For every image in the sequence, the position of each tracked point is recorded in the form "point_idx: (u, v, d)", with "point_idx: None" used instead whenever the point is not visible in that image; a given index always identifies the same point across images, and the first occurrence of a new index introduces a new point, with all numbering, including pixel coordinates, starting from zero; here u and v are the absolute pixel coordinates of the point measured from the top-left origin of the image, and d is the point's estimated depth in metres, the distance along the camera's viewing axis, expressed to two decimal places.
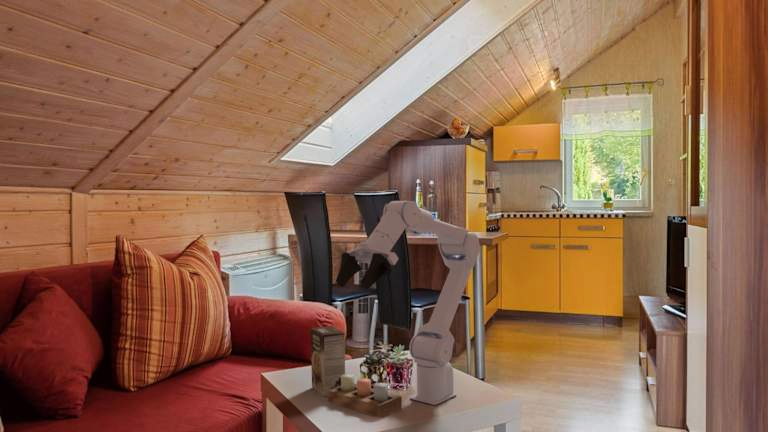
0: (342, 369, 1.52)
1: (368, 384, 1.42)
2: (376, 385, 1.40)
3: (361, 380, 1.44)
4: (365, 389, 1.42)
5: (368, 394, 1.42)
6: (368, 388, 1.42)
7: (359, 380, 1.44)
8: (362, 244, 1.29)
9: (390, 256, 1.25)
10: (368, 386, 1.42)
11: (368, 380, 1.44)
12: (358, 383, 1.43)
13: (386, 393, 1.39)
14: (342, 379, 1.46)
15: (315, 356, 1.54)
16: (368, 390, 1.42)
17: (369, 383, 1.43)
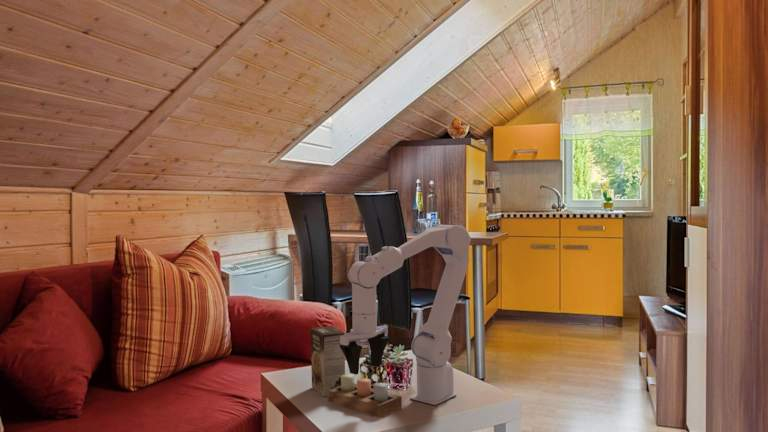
0: (342, 369, 1.52)
1: (368, 384, 1.42)
2: (376, 385, 1.40)
3: (361, 380, 1.44)
4: (365, 389, 1.42)
5: (368, 394, 1.42)
6: (368, 388, 1.42)
7: (359, 380, 1.44)
8: None
9: None
10: (368, 386, 1.42)
11: (368, 380, 1.44)
12: (358, 383, 1.43)
13: (386, 393, 1.39)
14: (342, 379, 1.46)
15: (315, 356, 1.54)
16: (368, 390, 1.42)
17: (369, 383, 1.43)
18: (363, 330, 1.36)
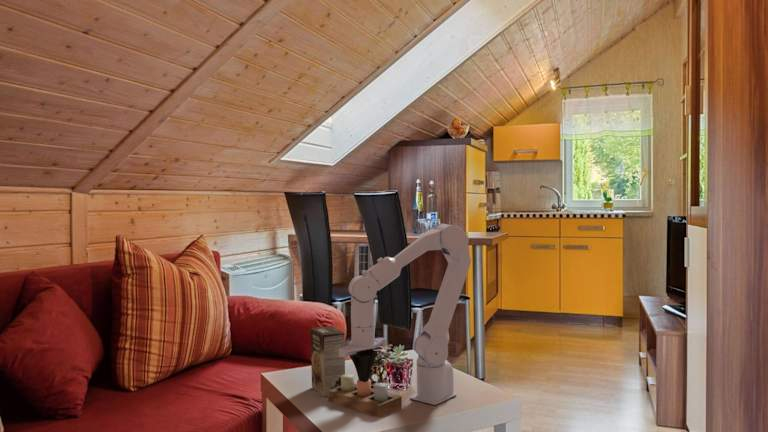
0: (342, 369, 1.52)
1: (368, 384, 1.42)
2: (376, 385, 1.40)
3: None
4: (365, 389, 1.42)
5: (368, 394, 1.42)
6: (368, 388, 1.42)
7: None
8: None
9: None
10: (368, 386, 1.42)
11: (368, 380, 1.44)
12: (358, 383, 1.43)
13: (386, 393, 1.39)
14: (342, 379, 1.46)
15: (315, 356, 1.54)
16: (368, 390, 1.42)
17: (369, 383, 1.43)
18: (361, 343, 1.40)
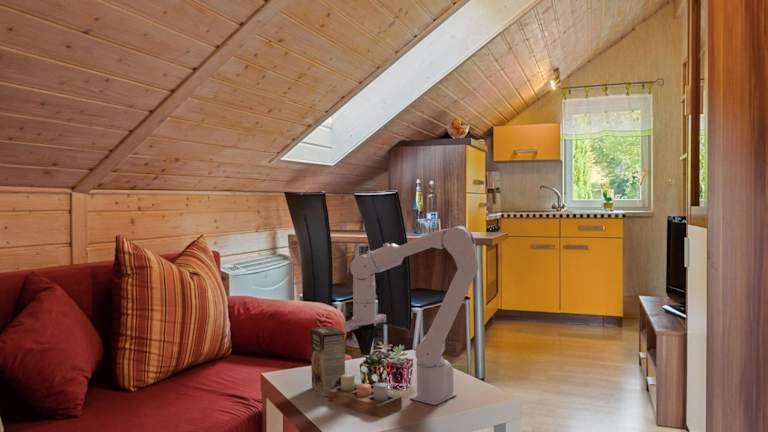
0: (342, 369, 1.52)
1: (368, 389, 1.42)
2: (376, 385, 1.40)
3: (361, 385, 1.44)
4: (365, 395, 1.42)
5: None
6: (368, 393, 1.42)
7: (359, 385, 1.44)
8: None
9: None
10: (368, 391, 1.42)
11: (368, 385, 1.44)
12: (358, 388, 1.43)
13: (386, 393, 1.39)
14: (342, 379, 1.46)
15: (315, 356, 1.54)
16: (368, 395, 1.42)
17: (369, 388, 1.43)
18: (363, 318, 1.48)
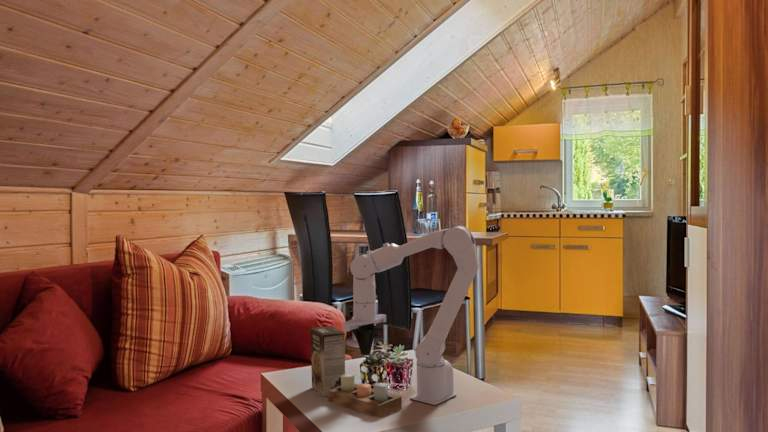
0: (342, 369, 1.52)
1: (368, 389, 1.42)
2: (376, 385, 1.40)
3: (361, 385, 1.44)
4: (365, 395, 1.42)
5: None
6: (368, 393, 1.42)
7: (359, 385, 1.44)
8: None
9: None
10: (368, 391, 1.42)
11: (368, 385, 1.44)
12: (358, 388, 1.43)
13: (386, 393, 1.39)
14: (342, 379, 1.46)
15: (315, 356, 1.54)
16: (368, 395, 1.42)
17: (369, 388, 1.43)
18: (363, 318, 1.48)
